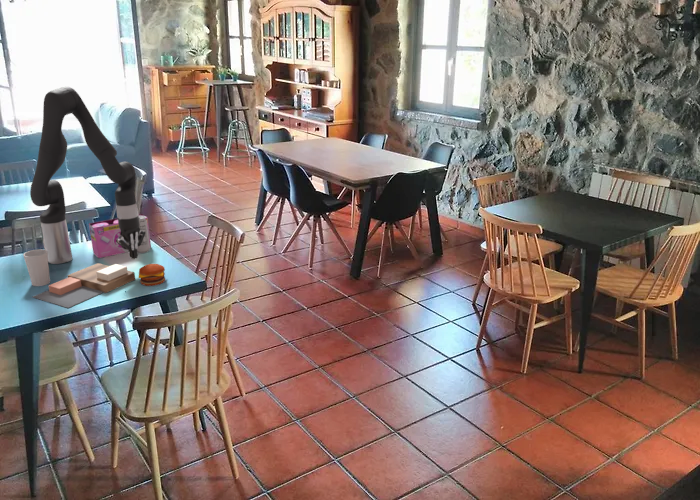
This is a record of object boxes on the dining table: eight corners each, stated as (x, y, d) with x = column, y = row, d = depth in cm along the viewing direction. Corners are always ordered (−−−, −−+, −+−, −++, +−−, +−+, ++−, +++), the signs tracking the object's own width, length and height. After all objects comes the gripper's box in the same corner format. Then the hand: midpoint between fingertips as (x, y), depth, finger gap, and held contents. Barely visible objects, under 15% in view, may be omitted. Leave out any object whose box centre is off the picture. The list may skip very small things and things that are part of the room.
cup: (57, 280, 228) (52, 250, 224) (41, 288, 221) (35, 257, 217) (41, 277, 231) (35, 248, 227) (24, 285, 224) (18, 255, 220)
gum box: (147, 241, 270) (144, 212, 265) (154, 246, 264) (151, 217, 259) (92, 253, 256) (88, 223, 251) (98, 258, 250) (93, 227, 245)
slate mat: (32, 297, 214) (32, 296, 214) (68, 282, 226) (68, 281, 226) (68, 308, 205) (68, 307, 205) (103, 292, 218) (103, 291, 218)
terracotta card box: (49, 291, 218) (48, 285, 217) (71, 283, 225) (69, 276, 224) (60, 295, 215) (59, 288, 214) (81, 286, 222) (80, 279, 222)
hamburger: (139, 287, 222) (137, 271, 220) (141, 278, 231) (138, 262, 228) (166, 285, 224) (163, 268, 222) (166, 275, 233) (164, 259, 231)
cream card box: (97, 277, 223) (96, 271, 222) (116, 269, 230) (115, 263, 229) (108, 281, 220) (107, 274, 219) (127, 272, 228) (126, 266, 227)
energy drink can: (152, 248, 261) (148, 215, 256) (148, 253, 255) (144, 219, 250) (138, 248, 261) (133, 215, 256) (133, 253, 255) (129, 220, 250)
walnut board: (68, 282, 226) (67, 275, 225) (99, 270, 238) (97, 263, 237) (105, 293, 217) (104, 285, 216) (135, 279, 229) (134, 272, 228)
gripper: (134, 209, 234) (140, 251, 240) (106, 218, 223) (113, 262, 229) (148, 212, 231) (153, 254, 236) (121, 221, 220) (127, 265, 226)
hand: (134, 258), depth 233 cm, fingers closed
